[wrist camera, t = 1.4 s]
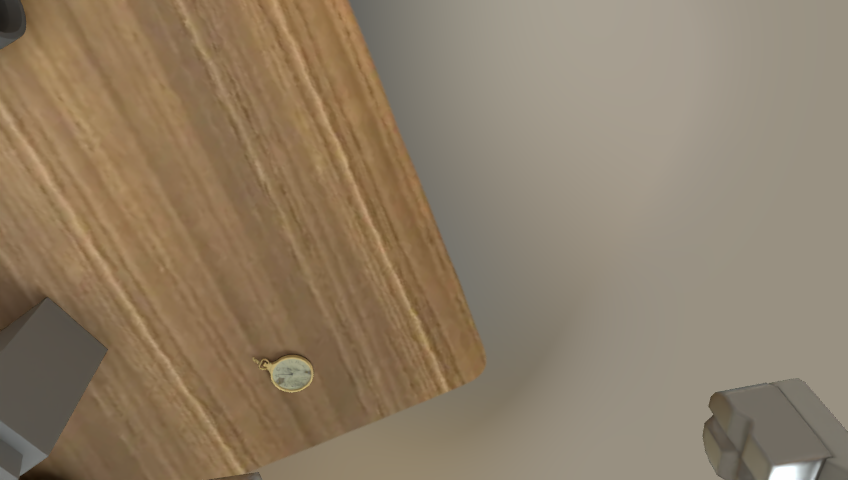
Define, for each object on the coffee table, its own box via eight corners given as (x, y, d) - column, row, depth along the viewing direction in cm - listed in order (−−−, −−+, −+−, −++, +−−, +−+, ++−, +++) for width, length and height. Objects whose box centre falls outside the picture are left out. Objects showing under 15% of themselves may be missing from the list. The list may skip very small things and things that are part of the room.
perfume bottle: (47, 297, 53) (-74, 442, 37) (107, 349, 56) (20, 506, 40) (-12, 340, 54) (-157, 502, 38) (50, 390, 57) (-59, 561, 40)
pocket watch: (320, 362, 60) (319, 365, 59) (303, 394, 61) (303, 397, 60) (259, 341, 58) (258, 344, 58) (243, 374, 59) (242, 378, 59)
